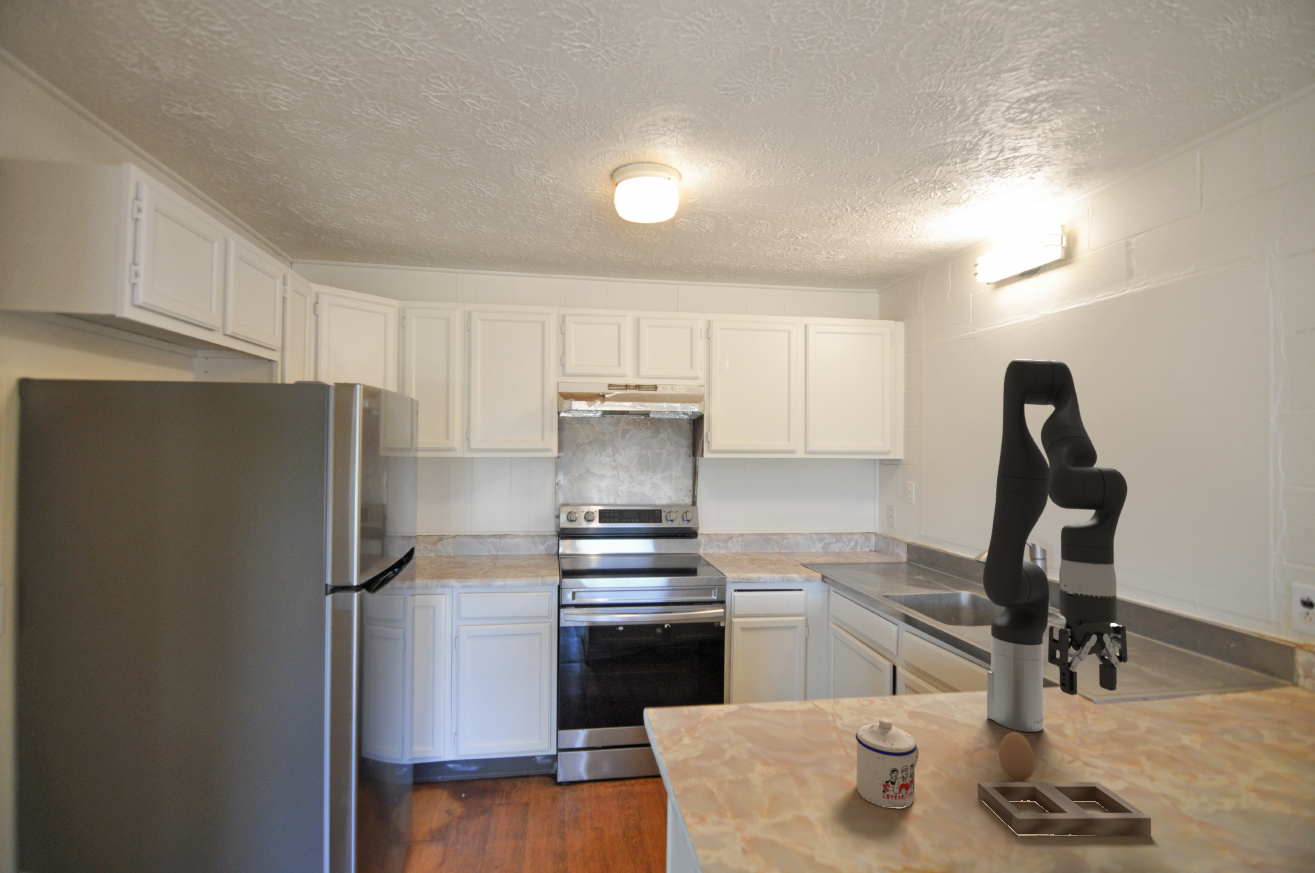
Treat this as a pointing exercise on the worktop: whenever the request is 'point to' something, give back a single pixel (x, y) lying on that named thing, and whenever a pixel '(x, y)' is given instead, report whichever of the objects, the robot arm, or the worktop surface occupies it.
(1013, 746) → the egg
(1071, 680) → the robot arm
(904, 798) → the teacup with lid
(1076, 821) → the egg rail
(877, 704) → the worktop surface
